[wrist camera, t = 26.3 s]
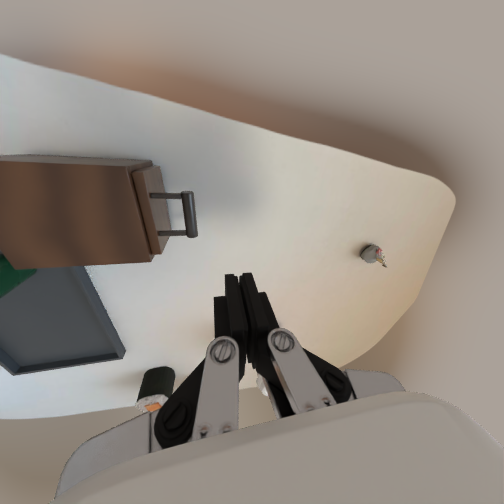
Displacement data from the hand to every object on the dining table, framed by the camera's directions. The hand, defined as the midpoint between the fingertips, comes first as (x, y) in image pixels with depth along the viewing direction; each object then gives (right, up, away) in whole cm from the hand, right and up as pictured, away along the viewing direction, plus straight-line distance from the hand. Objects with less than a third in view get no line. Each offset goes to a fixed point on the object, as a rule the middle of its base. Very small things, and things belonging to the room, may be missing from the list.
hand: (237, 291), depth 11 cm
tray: (-40, -9, +23) cm, 47 cm away
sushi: (-26, -34, +41) cm, 59 cm away
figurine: (+30, +3, +33) cm, 45 cm away
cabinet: (-21, +11, +16) cm, 29 cm away
